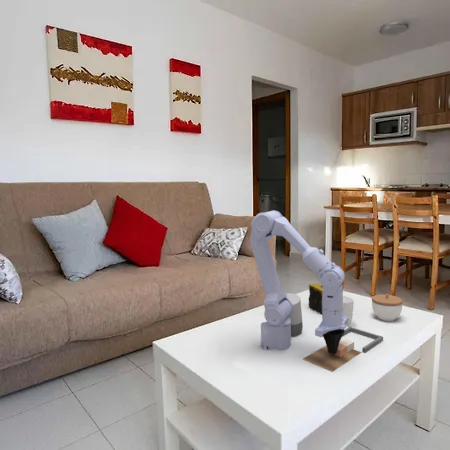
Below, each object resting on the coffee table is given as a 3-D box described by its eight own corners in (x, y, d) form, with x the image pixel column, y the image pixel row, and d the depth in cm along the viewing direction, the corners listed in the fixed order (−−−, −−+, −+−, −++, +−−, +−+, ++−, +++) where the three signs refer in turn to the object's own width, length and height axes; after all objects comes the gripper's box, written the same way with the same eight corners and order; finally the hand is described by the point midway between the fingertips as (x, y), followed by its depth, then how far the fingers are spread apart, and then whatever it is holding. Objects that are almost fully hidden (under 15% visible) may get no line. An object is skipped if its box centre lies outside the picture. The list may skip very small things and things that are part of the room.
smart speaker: (269, 336, 125) (269, 296, 123) (285, 327, 131) (284, 290, 130) (292, 343, 118) (292, 302, 117) (307, 334, 125) (307, 295, 123)
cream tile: (347, 352, 108) (347, 346, 108) (335, 348, 111) (335, 341, 111) (354, 348, 111) (354, 341, 110) (342, 344, 114) (342, 338, 113)
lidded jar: (406, 324, 131) (406, 299, 130) (375, 323, 133) (375, 298, 132) (397, 313, 142) (397, 290, 141) (368, 312, 144) (368, 290, 143)
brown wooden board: (332, 377, 98) (332, 371, 97) (302, 363, 105) (302, 359, 105) (361, 357, 108) (361, 352, 108) (332, 346, 116) (332, 342, 115)
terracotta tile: (340, 356, 105) (340, 350, 105) (328, 352, 108) (328, 346, 108) (347, 352, 108) (347, 346, 108) (335, 348, 111) (335, 341, 111)
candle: (307, 307, 152) (307, 284, 151) (328, 304, 155) (328, 281, 154) (321, 315, 143) (321, 290, 142) (343, 312, 146) (343, 288, 145)
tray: (364, 357, 108) (364, 348, 107) (330, 345, 116) (330, 337, 116) (383, 345, 115) (383, 336, 115) (349, 334, 124) (349, 326, 124)
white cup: (338, 330, 127) (338, 303, 126) (326, 322, 135) (326, 296, 134) (357, 327, 129) (358, 301, 128) (344, 320, 137) (345, 294, 136)
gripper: (330, 318, 97) (330, 366, 98) (358, 305, 106) (357, 349, 108) (308, 312, 102) (308, 357, 104) (336, 300, 112) (336, 341, 113)
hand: (332, 352), depth 106 cm, fingers closed
